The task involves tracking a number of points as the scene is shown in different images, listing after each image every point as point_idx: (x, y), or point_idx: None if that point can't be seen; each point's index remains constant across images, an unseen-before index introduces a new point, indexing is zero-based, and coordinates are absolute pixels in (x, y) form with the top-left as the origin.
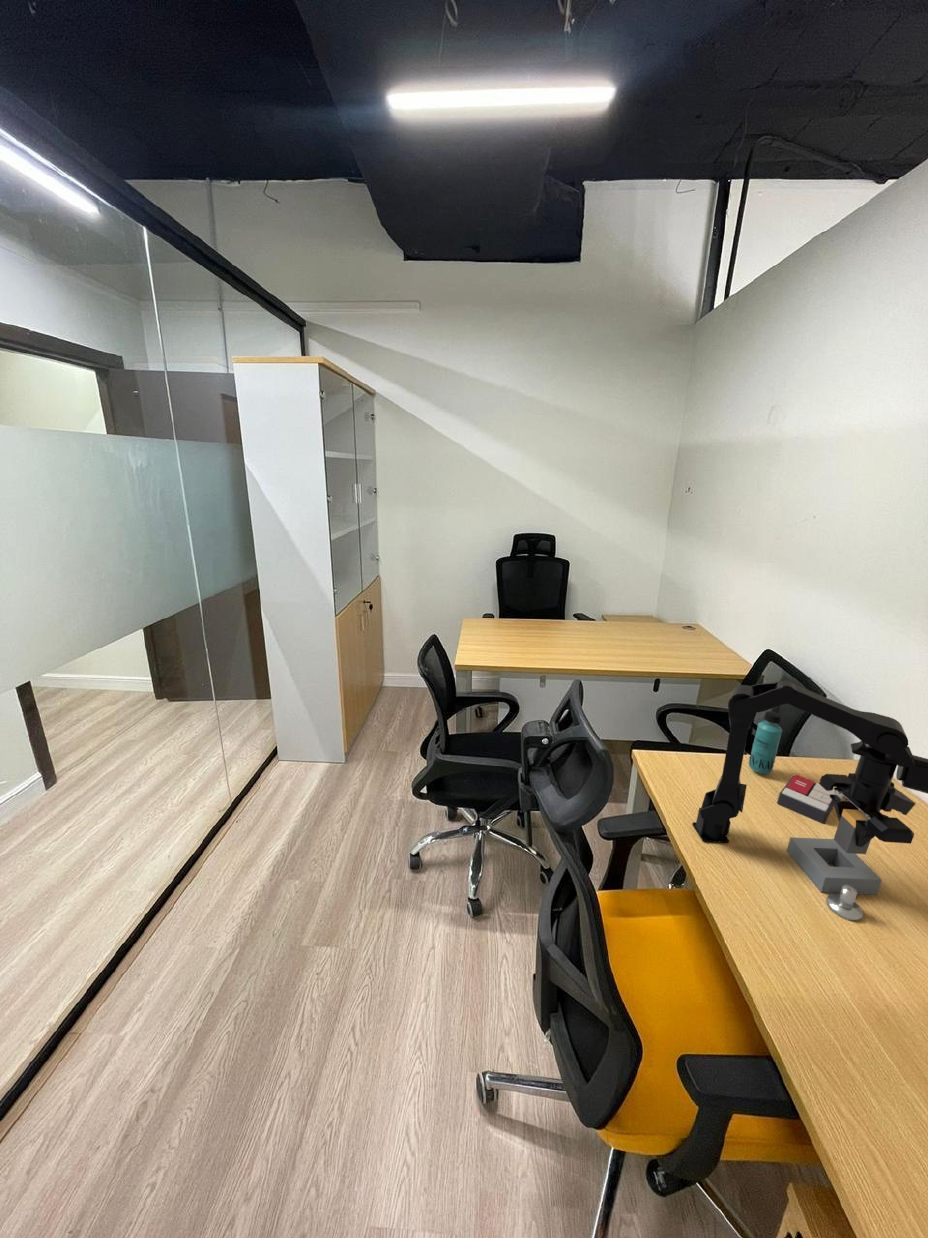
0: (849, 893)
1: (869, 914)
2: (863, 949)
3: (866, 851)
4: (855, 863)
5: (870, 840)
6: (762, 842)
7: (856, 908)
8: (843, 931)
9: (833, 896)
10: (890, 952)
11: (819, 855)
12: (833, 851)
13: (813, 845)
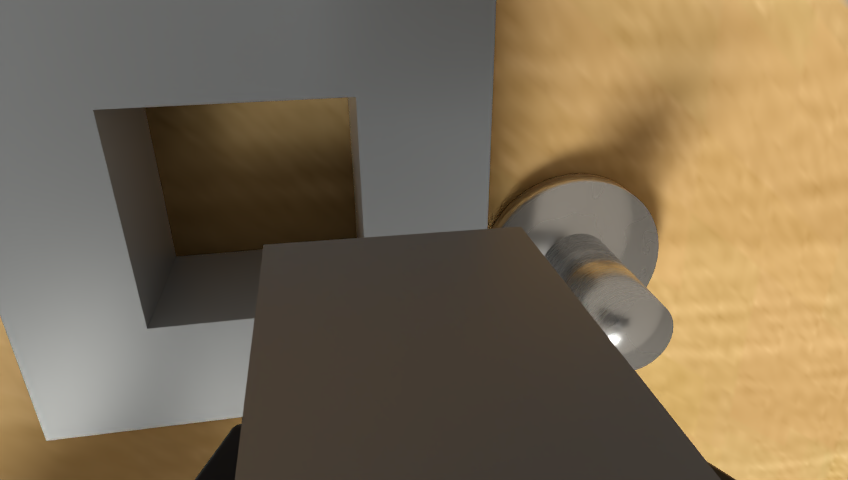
0: (657, 352)
1: (611, 127)
2: (780, 299)
3: (535, 248)
4: (296, 58)
5: (620, 357)
6: (39, 458)
7: (599, 211)
8: (687, 332)
9: None
10: (822, 184)
11: (243, 322)
12: (111, 131)
13: (108, 310)
